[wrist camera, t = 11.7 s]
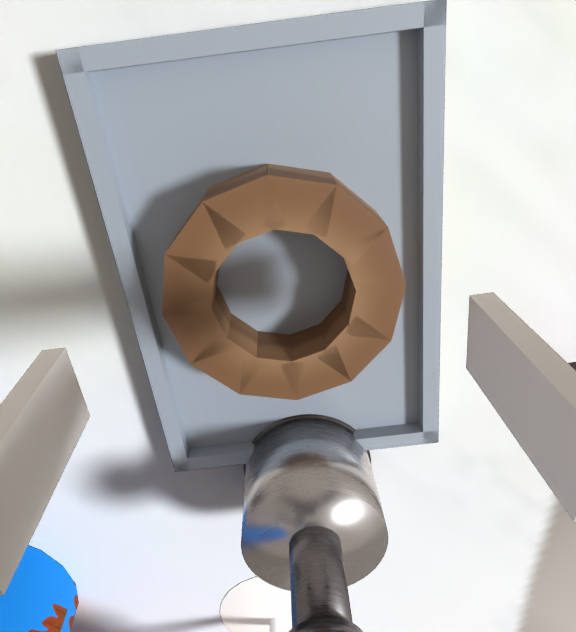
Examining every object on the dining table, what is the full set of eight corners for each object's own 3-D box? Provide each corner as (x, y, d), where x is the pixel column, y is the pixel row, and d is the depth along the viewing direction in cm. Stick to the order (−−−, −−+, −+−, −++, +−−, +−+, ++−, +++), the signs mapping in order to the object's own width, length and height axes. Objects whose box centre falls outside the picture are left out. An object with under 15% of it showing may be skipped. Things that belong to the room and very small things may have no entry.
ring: (132, 295, 23) (117, 319, 21) (260, 115, 20) (259, 121, 18) (298, 401, 26) (301, 432, 24) (434, 258, 23) (451, 279, 21)
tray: (180, 451, 28) (175, 471, 27) (71, 51, 20) (55, 50, 18) (429, 423, 28) (438, 442, 27) (433, 3, 19) (446, -3, 18)
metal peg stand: (220, 465, 29) (193, 680, 19) (296, 383, 27) (313, 577, 16) (314, 517, 31) (335, 737, 21) (393, 445, 29) (460, 652, 18)
